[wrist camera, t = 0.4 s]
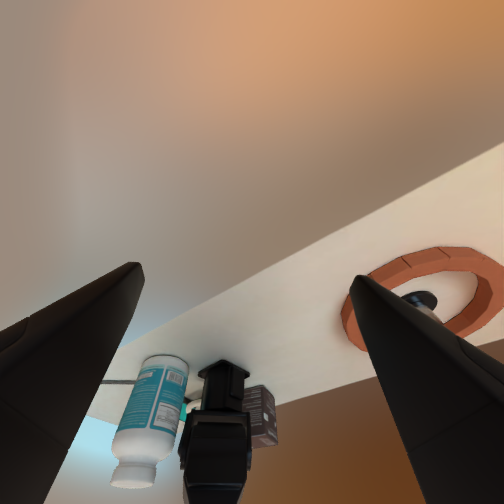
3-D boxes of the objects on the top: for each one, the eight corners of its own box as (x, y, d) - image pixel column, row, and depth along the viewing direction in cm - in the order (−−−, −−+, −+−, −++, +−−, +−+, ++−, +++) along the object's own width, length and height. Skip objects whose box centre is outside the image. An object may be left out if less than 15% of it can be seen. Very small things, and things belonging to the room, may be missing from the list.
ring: (376, 357, 35) (382, 369, 33) (315, 303, 27) (319, 314, 26) (508, 306, 28) (522, 318, 26) (475, 214, 20) (493, 223, 19)
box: (274, 397, 43) (279, 445, 37) (247, 402, 44) (247, 450, 38) (263, 384, 40) (265, 435, 34) (233, 390, 41) (231, 440, 35)
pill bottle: (143, 373, 37) (98, 490, 26) (143, 350, 33) (90, 477, 22) (187, 378, 38) (162, 492, 27) (193, 356, 34) (166, 480, 23)
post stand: (401, 322, 30) (442, 382, 23) (386, 304, 27) (427, 365, 21) (440, 305, 28) (496, 365, 21) (427, 284, 26) (485, 344, 19)
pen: (141, 385, 38) (59, 384, 38) (143, 382, 39) (62, 381, 38) (140, 382, 38) (58, 381, 37) (142, 379, 38) (61, 378, 38)
